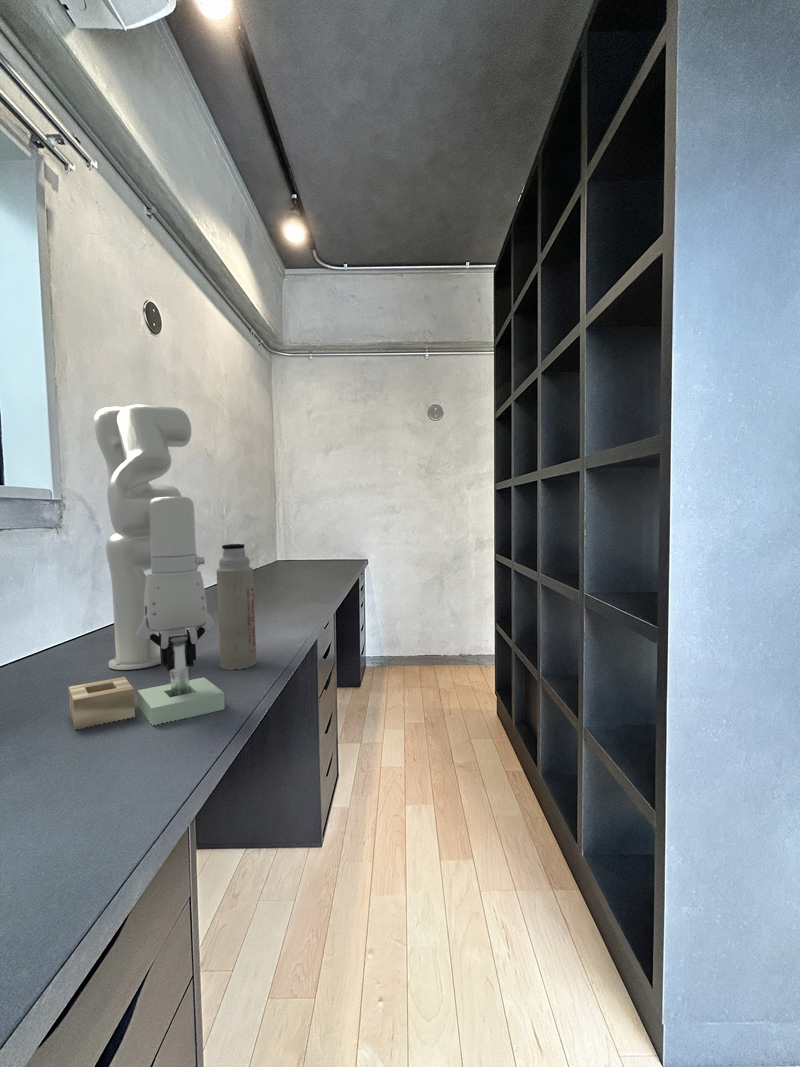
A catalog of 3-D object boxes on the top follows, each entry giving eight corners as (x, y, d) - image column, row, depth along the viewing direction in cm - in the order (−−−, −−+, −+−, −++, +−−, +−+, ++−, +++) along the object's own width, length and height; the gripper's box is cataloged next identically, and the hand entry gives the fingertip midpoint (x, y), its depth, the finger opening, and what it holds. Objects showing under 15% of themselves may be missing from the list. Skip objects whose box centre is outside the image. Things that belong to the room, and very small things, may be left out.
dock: (138, 706, 101) (137, 690, 101) (204, 692, 108) (204, 677, 108) (152, 726, 91) (151, 708, 91) (224, 709, 98) (223, 692, 98)
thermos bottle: (262, 660, 130) (257, 542, 129) (246, 670, 122) (241, 545, 121) (231, 659, 132) (226, 543, 131) (213, 669, 124) (208, 545, 123)
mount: (70, 714, 98) (68, 686, 97) (125, 703, 103) (124, 676, 103) (75, 730, 90) (73, 700, 90) (135, 717, 96) (133, 688, 95)
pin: (167, 702, 100) (163, 635, 99) (188, 698, 102) (185, 632, 102) (172, 707, 97) (168, 638, 96) (194, 703, 99) (191, 635, 99)
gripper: (213, 560, 106) (217, 654, 107) (120, 567, 97) (125, 671, 98) (226, 563, 100) (230, 663, 101) (127, 571, 91) (133, 681, 91)
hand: (178, 665), depth 99 cm, fingers closed on pin, 3 cm apart
